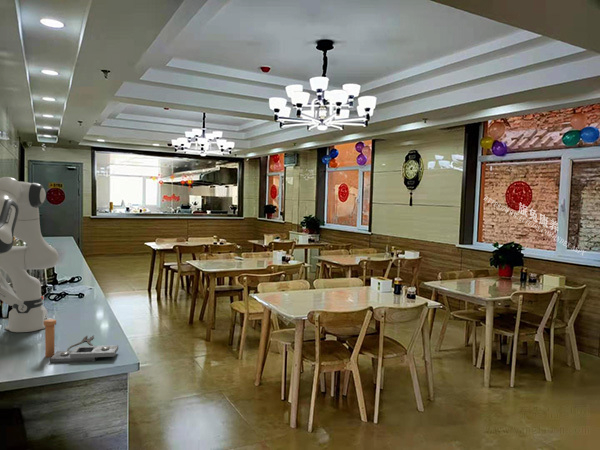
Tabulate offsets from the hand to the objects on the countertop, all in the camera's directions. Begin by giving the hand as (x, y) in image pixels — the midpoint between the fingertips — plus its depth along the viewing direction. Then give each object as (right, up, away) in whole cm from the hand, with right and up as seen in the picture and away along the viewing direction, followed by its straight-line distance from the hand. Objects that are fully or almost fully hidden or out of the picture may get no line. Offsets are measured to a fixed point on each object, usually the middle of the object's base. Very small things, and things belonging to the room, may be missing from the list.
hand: (18, 298), depth 172 cm
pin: (+9, -24, +5) cm, 26 cm away
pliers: (+14, -23, +21) cm, 34 cm away
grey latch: (+24, -24, +5) cm, 34 cm away
